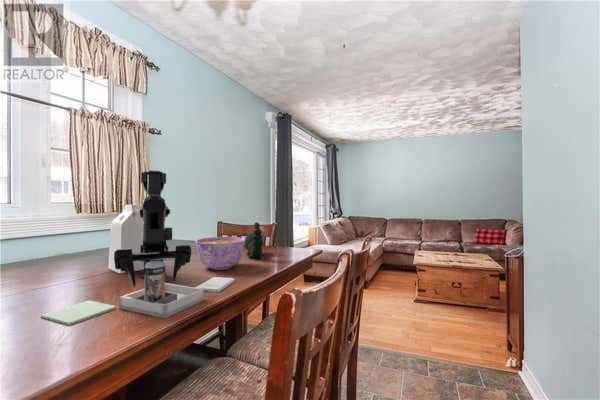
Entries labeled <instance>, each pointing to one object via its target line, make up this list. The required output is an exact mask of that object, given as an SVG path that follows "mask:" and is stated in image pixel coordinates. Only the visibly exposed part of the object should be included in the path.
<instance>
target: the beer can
mask: <svg viewBox="0 0 600 400" xmlns="http://www.w3.org/2000/svg"><path fill="white" fill-rule="evenodd" d="M165 273H166V265H165V263H164V260H163V261H150V262H147V263H146V265H145V278H144V288H143V289H144V300H146V301H151V302H155V301H157V300H160V299H162V298H165V283H166V281H165V280H166V275H165Z"/></svg>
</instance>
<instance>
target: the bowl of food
mask: <svg viewBox="0 0 600 400" xmlns="http://www.w3.org/2000/svg"><path fill="white" fill-rule="evenodd" d="M244 244H245V237H244V238H243V237H237V236H212V237H204V238H203V237H202V238H199V239H196V240H195V245H196V250H197V253H198V258H199V261H200V262H201V263H202V264H203V266H205V267H207V268H210V269H211V270H214V271H224V270H229V269H231V268H232V267H234V266H235V265H236V264H238V263H239V262H240V261H241V259H242V255H243V252H244V248H245V245H244Z"/></svg>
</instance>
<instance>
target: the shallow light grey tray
mask: <svg viewBox="0 0 600 400" xmlns="http://www.w3.org/2000/svg"><path fill="white" fill-rule="evenodd" d="M205 297H206V291H205V289H200V288H195V287H194V286H193V287H192V286H189V285H188V286H186V285H181V284H176V283H175V284H174V283H167V282H165V298H162V299H160V300H157V301H155V302H151V301H146V300H144V288H141V289H140V290H136V291H133V292H130V293H127V294H125V295H120V296H119V306H118V307H119V309H120V310H121V309H122V310H126V311H129V312H136V313H138V314H139V313H140V314H144V315H147V316H148V315H149V316H153V317H156V318H157V317H158V318H162V319H167V318H168V317H169V318H170V317H172V315H173V316H174V315H175V314H178V313H179V312H182V311H184V310H186V309H188V308H191V307H192V306H194V305H197V304H199V303H200V302H203V301H205V300H206V298H205Z"/></svg>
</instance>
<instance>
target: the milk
mask: <svg viewBox="0 0 600 400" xmlns="http://www.w3.org/2000/svg"><path fill="white" fill-rule="evenodd" d="M143 225H144V221H143V218H140V213H138V212H137V210H136V205H135V204H125V206H124V210H123V211H122V212H121V213H119V215H118V216H116V217H115V218H114V219H113V220H112V221H111V223H110V229H109V231H110V233H109V234H110V235H109V250H108V266H107V267H108V270H111V271H113V272H115V273H118V274H127V273H126V272H125V271H121V269H115V262H114V252H115V251H116V250H117V249H132V253H140V247H141V244H143ZM133 264H134V271H135V272H136V271H144V261H142V262H141V261H133Z"/></svg>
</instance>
